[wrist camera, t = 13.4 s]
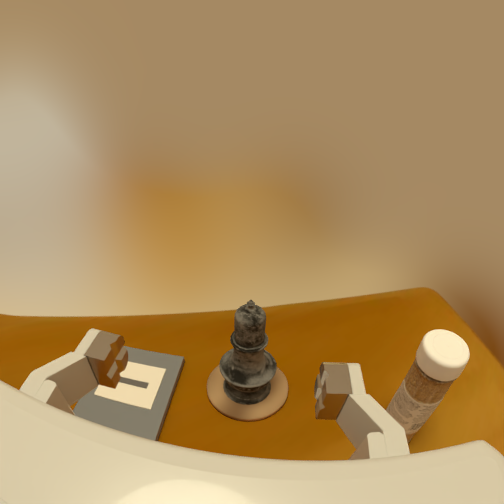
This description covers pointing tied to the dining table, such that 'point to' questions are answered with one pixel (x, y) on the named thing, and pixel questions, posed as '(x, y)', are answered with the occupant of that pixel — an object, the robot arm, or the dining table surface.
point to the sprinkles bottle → (428, 379)
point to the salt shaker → (248, 358)
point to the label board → (135, 395)
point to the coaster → (247, 411)
